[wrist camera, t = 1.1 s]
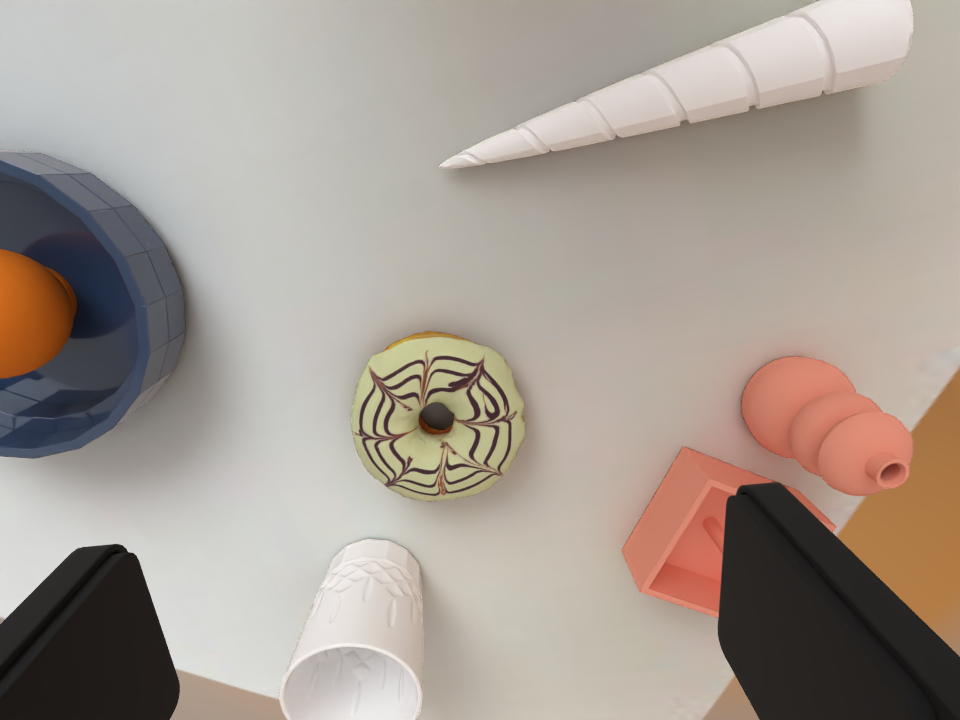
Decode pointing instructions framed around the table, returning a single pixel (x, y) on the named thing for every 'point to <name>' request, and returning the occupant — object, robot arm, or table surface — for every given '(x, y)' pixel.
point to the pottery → (786, 432)
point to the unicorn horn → (725, 79)
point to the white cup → (360, 640)
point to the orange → (32, 314)
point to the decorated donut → (421, 449)
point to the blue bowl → (87, 306)
